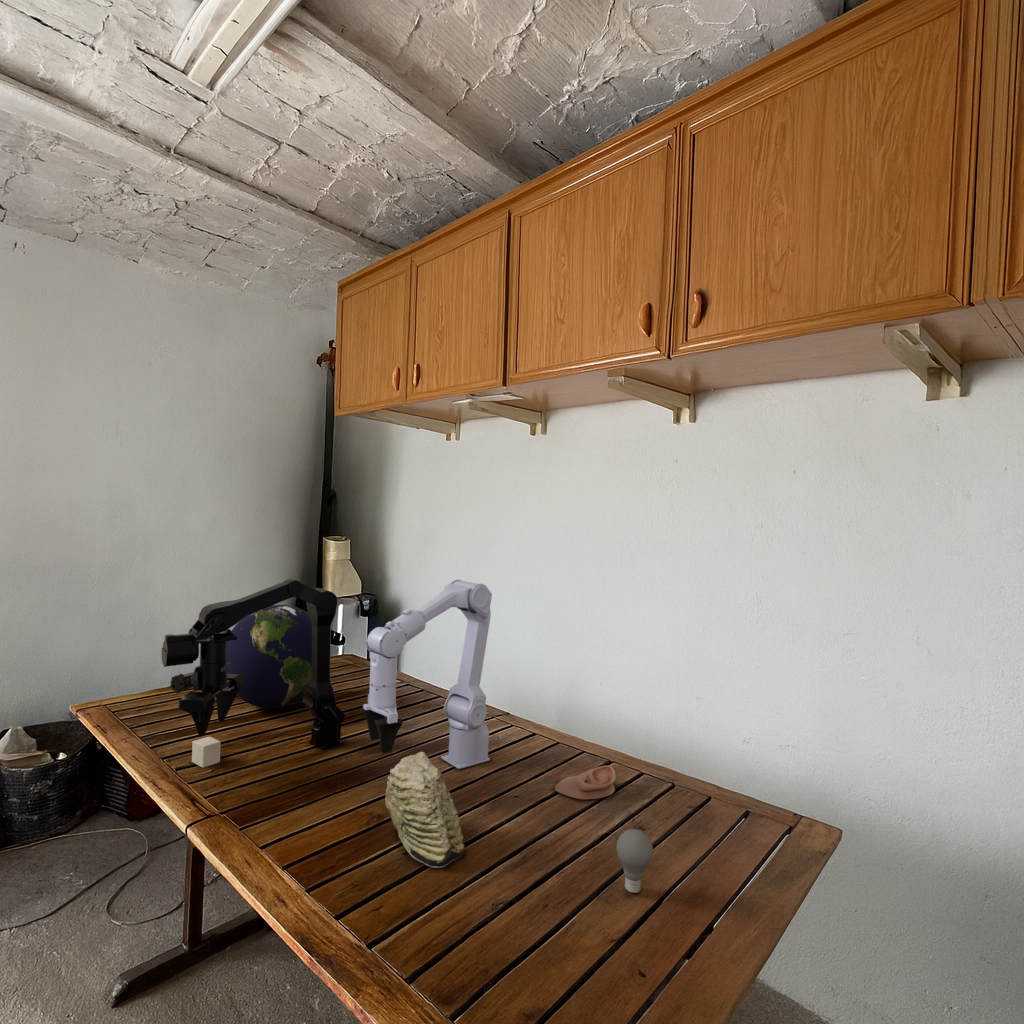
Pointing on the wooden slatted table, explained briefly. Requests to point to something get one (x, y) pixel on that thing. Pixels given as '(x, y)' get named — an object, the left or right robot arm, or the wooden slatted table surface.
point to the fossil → (424, 812)
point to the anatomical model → (589, 784)
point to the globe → (272, 656)
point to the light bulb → (634, 857)
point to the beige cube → (206, 751)
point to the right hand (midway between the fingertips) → (380, 745)
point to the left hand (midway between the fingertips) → (211, 728)
